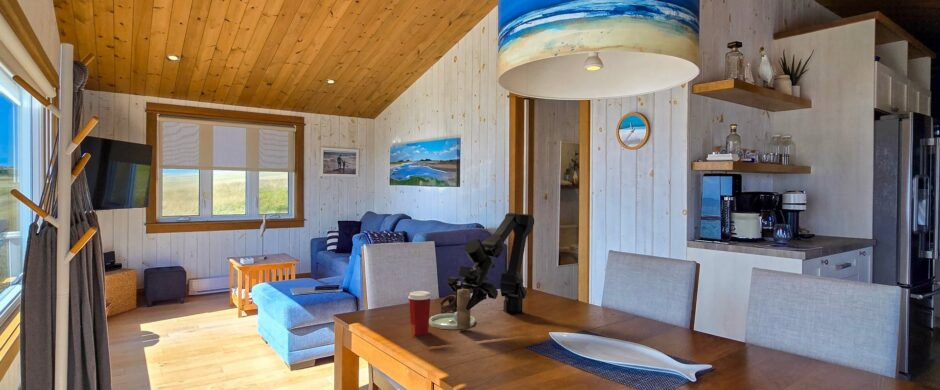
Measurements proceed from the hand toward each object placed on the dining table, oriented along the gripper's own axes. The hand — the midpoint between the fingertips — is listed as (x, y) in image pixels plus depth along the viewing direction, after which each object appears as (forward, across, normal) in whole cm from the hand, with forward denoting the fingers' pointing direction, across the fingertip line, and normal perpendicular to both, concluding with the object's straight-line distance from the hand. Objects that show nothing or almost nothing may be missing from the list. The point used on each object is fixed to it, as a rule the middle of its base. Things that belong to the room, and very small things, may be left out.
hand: (461, 308), depth 167 cm
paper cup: (+13, -11, 0) cm, 16 cm away
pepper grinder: (+4, 0, +6) cm, 7 cm away
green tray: (+1, -9, +11) cm, 14 cm away
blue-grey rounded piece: (-2, -9, +13) cm, 17 cm away
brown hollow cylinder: (-7, -18, +20) cm, 28 cm away
